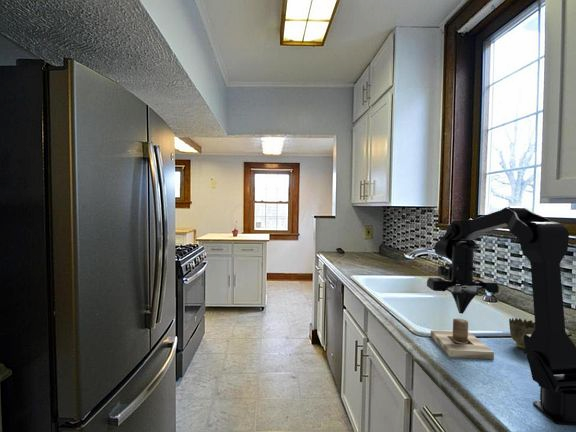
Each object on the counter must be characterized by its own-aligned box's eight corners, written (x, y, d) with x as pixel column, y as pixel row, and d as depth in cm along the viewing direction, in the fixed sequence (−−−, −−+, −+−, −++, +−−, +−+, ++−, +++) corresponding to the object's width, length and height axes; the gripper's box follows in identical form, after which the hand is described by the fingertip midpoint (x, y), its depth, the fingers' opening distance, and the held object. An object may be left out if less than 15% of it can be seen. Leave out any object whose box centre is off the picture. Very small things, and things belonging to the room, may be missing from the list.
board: (493, 359, 87) (494, 352, 87) (449, 357, 88) (449, 350, 88) (468, 337, 101) (468, 331, 101) (430, 336, 102) (430, 330, 102)
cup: (544, 355, 90) (545, 328, 89) (515, 352, 91) (516, 325, 91) (529, 343, 97) (530, 318, 97) (503, 341, 98) (504, 316, 98)
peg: (470, 350, 92) (471, 323, 92) (455, 349, 92) (456, 323, 92) (463, 344, 96) (464, 318, 96) (449, 343, 97) (450, 318, 96)
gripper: (480, 258, 101) (478, 305, 101) (421, 256, 102) (419, 303, 103) (501, 264, 90) (499, 318, 90) (434, 263, 91) (433, 315, 92)
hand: (460, 313), depth 94 cm, fingers closed
